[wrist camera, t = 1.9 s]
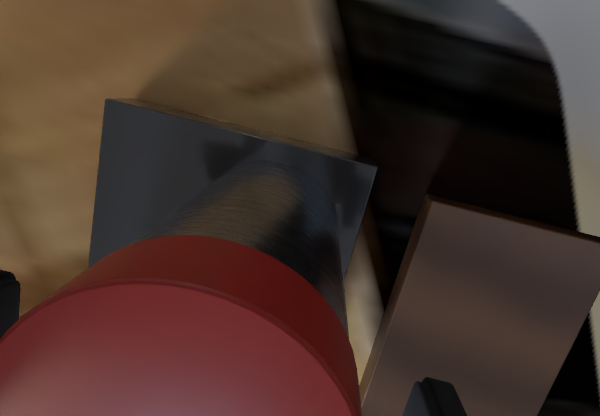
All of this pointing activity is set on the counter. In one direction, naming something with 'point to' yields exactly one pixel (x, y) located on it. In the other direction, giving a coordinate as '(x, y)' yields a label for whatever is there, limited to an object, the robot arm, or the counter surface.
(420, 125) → the counter surface
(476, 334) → the board
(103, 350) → the jar with red lid
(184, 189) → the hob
